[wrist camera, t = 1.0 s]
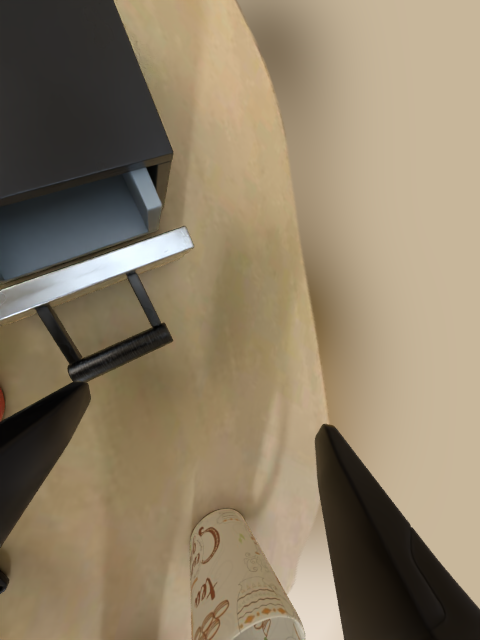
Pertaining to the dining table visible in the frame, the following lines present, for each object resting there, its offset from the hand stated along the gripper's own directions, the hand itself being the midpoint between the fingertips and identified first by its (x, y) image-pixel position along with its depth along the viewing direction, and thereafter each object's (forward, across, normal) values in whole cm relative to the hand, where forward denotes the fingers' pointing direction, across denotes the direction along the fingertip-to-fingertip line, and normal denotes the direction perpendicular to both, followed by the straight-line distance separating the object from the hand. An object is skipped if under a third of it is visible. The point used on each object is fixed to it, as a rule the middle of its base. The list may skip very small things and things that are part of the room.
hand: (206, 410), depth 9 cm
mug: (+5, -5, +27) cm, 27 cm away
